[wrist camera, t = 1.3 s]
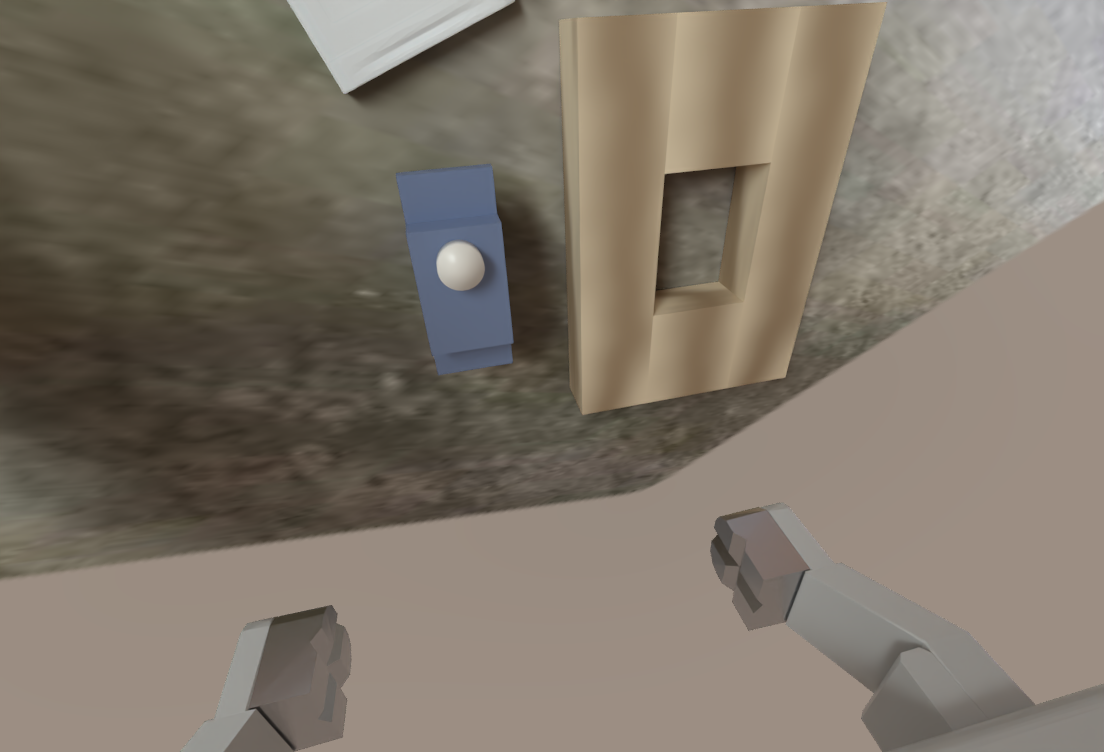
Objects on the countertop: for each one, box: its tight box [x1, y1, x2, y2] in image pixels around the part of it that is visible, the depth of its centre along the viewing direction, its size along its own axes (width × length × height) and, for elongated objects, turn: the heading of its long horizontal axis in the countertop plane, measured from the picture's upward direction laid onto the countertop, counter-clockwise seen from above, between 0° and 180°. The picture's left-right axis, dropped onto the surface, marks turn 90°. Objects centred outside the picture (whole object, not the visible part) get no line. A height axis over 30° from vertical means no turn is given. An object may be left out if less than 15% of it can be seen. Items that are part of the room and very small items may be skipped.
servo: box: [396, 164, 514, 375], centre depth 24 cm, size 4×10×6 cm, turn 2°
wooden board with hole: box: [559, 2, 887, 415], centre depth 28 cm, size 14×20×3 cm
